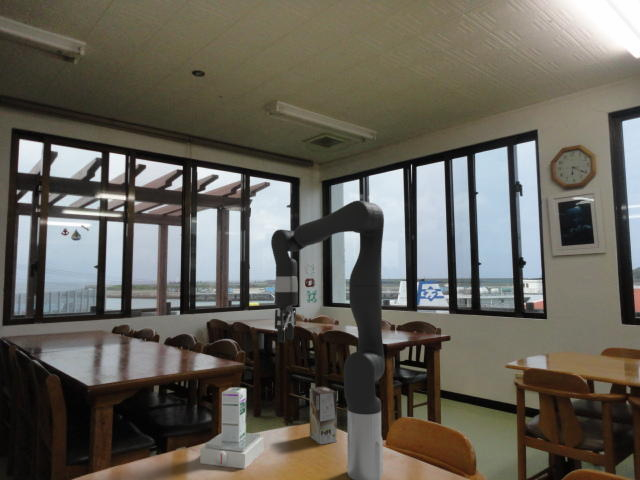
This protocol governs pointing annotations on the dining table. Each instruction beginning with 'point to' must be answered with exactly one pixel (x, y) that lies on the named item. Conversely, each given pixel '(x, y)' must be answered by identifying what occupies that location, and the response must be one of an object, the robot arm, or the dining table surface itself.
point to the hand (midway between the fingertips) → (285, 340)
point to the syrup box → (234, 414)
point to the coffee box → (323, 415)
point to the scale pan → (233, 443)
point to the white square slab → (232, 455)
